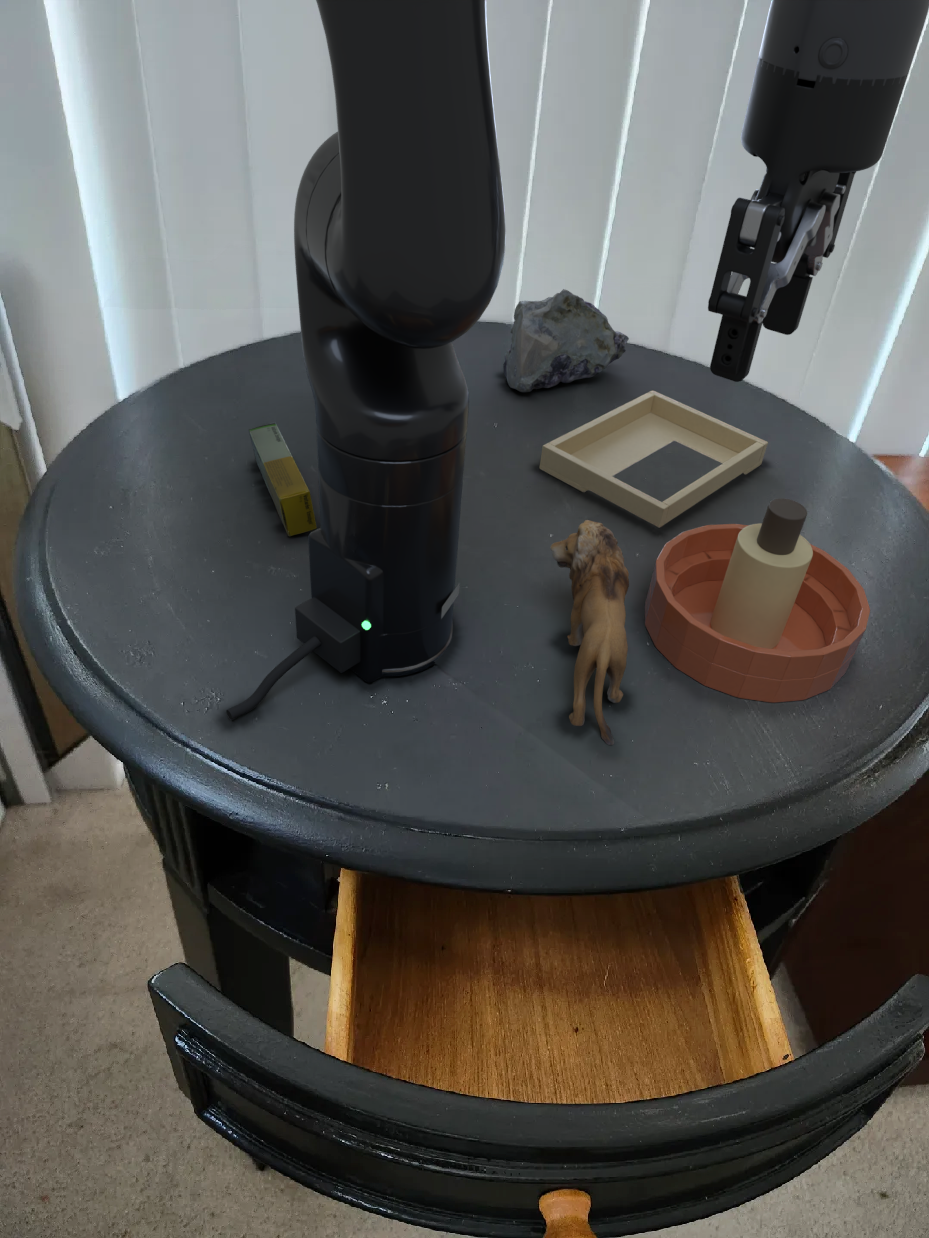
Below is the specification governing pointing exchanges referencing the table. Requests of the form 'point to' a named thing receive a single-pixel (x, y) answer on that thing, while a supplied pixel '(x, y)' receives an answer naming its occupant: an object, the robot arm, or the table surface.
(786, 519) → the bottle
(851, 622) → the bowl
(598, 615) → the lion figurine
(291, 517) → the medication box
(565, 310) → the mineral rock
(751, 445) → the tray
